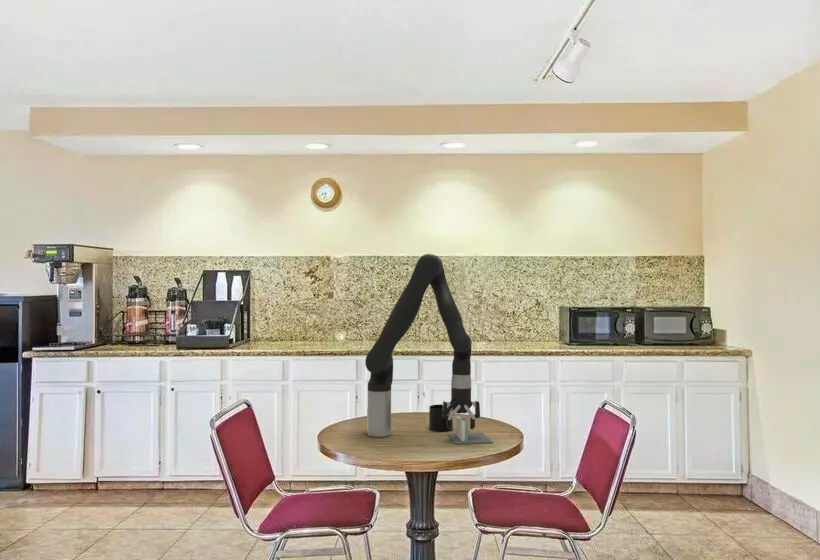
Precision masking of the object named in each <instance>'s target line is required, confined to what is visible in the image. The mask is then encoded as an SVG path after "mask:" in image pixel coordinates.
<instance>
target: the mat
mask: <svg viewBox="0 0 820 560" xmlns="http://www.w3.org/2000/svg"><path fill="white" fill-rule="evenodd" d="M446 435H447V436H448V438H449V439H450V440H451V442H453V444H454V445H460V446H462V445H478V444H479V445H481V444H493V443H494V442H493V441H492V439H490V438H489V437H488V436H487V435H486V434H485V433H484V432H468V441H461V440H460V439H459V437H458V436H457V435H456V432H455V433H454V432H453V433H446Z"/></svg>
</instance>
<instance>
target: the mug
mask: <svg viewBox="0 0 820 560" xmlns="http://www.w3.org/2000/svg"><path fill="white" fill-rule="evenodd" d="M442 406H443V403H442V404H431V405H429V406H428V407H429V408H428V410H429V413H428V414H429V415H428V418H429V421H428V422H429V423H428V424H429V430H430V431H433V432H439V433H442V432H450V431H452V430H453V428H454V427H453V426H454V425H453V423H454V422H453V417H454V416H453V417H452V418H451V430H449V429H448V428H447V419H445V418H443V417H442ZM451 409H452V407H451V406H450V405H449V407H448V408H447V414H446V415H448V414H449V412H450V410H451ZM452 411H453V410H452Z"/></svg>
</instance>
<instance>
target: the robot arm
mask: <svg viewBox="0 0 820 560" xmlns="http://www.w3.org/2000/svg"><path fill="white" fill-rule="evenodd" d="M429 286H430V287H431V289H432V291H433V294H434V297H435V301H436V305H437V309H438V312H439V314H440V317H441V320H442V322H443V326H444V327H445V329H446V332H447V335H448V338H449V343H450V345H451V347H452V349H453V360H452V365H451V370H452V371H451V381H450V382H451V383H450V385H451V386H450V388H451V390H450V391H451V392H450V394H451V395H450V398H451V399H450V402H449V401H446V400H443V401H442V405H443V406H442V417H443V418H445V419H447V428H448V429H449V430H450V431H452V430H451V418H452V417H454V416H455V415H456V414H458V415H460V414H466V413H467V414H468V415H469V417H470V419H469V429H470V430H474V429H475V428H476V419H478V418H481V407H480V401H478V400H475V401H472V375H471V372H472V371H471V370H472V369H471V367H472V365H471V356H472V346H473V345H472V344H473V343H472V338H471V336H470V335H469V334H467V331H466V330H465V326H464V325H463V319H462V316H461V314H460V310H459V308H458V305H457V303H456V302H455V299H454V298H453V297H454V296H453V295H452V292H451V290H450V286H449V285H448V281H447V278H446V273H445V270H444V265H443V261H442V259H441V258H440V257H439V256H437V255H435V254H432V253H426V254H425V253H424V254H423V255H422V256H420V257H419V258H418V260H417V262H416V264H415V266H414V269H413V271H412V274H411V276H410V279H409V281H408V283H407V285H406V286H405V288H404V289H403V291H402V293H401V294H400V296H399V298H398V300H397V301H396V303H395V304H394V307H393V308H392V310H391V312H390V314H389V316H388V318H387V320H386V322H385V324H384V326H383V328H382V331H381V333H380V335H379V337H378V338H377V340H376V342H375V343H374V344H373V346H372V348H371V349H370V350H369V351H368V353H367V354H366V357H365V361H364V362H365V363H364V365H365V367H366V369H367V371H368V372H369V373H370V377H369V381H368V382H367V408H366V418H367V419H366V424H367V425H366V431H367V432H366V433H367V437H374V438H375V437H376V438H377V437H378V438H380V437H381V438H383V437H388V436H391V435H392V384H393V379H394V357H393V352H394V350H395V348H396V346H397V344H399V342H400V341H401V339H402V338H403V337H404V336H405V334H406V333H407V332H408V331H409V330H410V328H411V327H412V325H413V323H414V321H415V319H416V317H417V315H418V313H419V311H420V308H421V305H422V302H423V298H424V296H425V293H426V291H427V289H428V287H429ZM449 405H450V406H451V407H452V409H451V410H450V412H449V414H448V415H446V414H447V408H448V407H449ZM471 407H473V408H474V413H473V411H472V410H471ZM452 410H453V411H452Z"/></svg>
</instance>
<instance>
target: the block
mask: <svg viewBox="0 0 820 560" xmlns="http://www.w3.org/2000/svg"><path fill="white" fill-rule="evenodd" d="M455 422H456V423H455V428H456V430H455V431H456V432H455V433H456V435H457V436H458V437H459V439H460V440H461V441H468V433H469V421H468V420H467V419H466V418H465V417H464V416H456V418H455Z"/></svg>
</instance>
